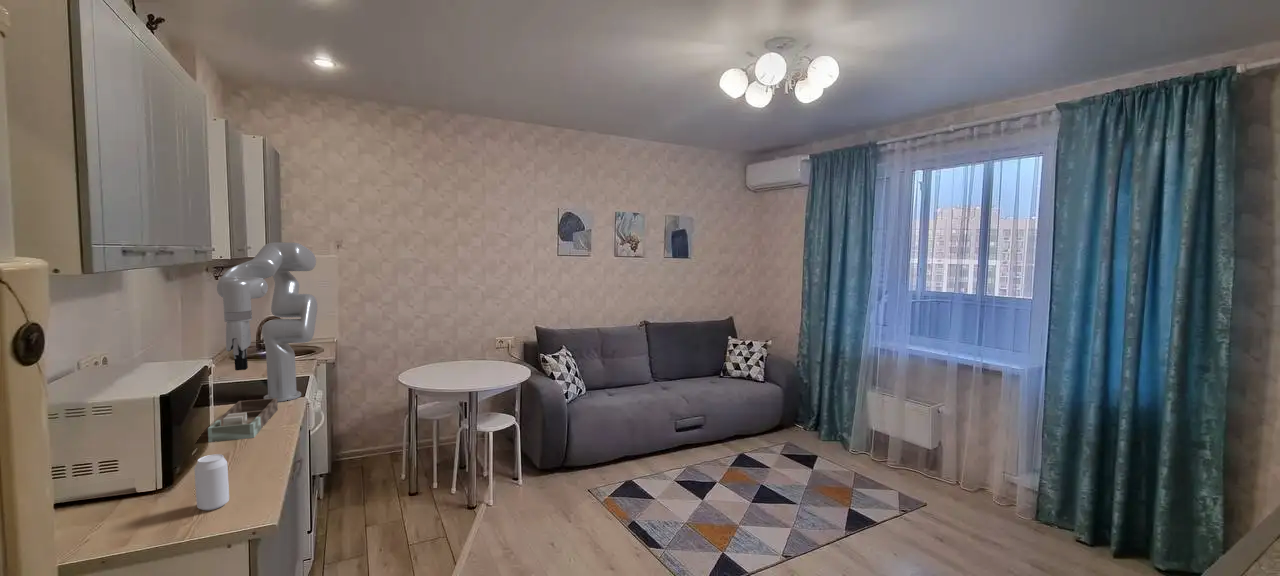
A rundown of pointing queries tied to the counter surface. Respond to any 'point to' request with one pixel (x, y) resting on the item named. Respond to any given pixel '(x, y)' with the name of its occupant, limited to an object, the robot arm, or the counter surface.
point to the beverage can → (211, 482)
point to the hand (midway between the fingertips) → (241, 369)
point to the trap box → (256, 420)
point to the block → (235, 419)
